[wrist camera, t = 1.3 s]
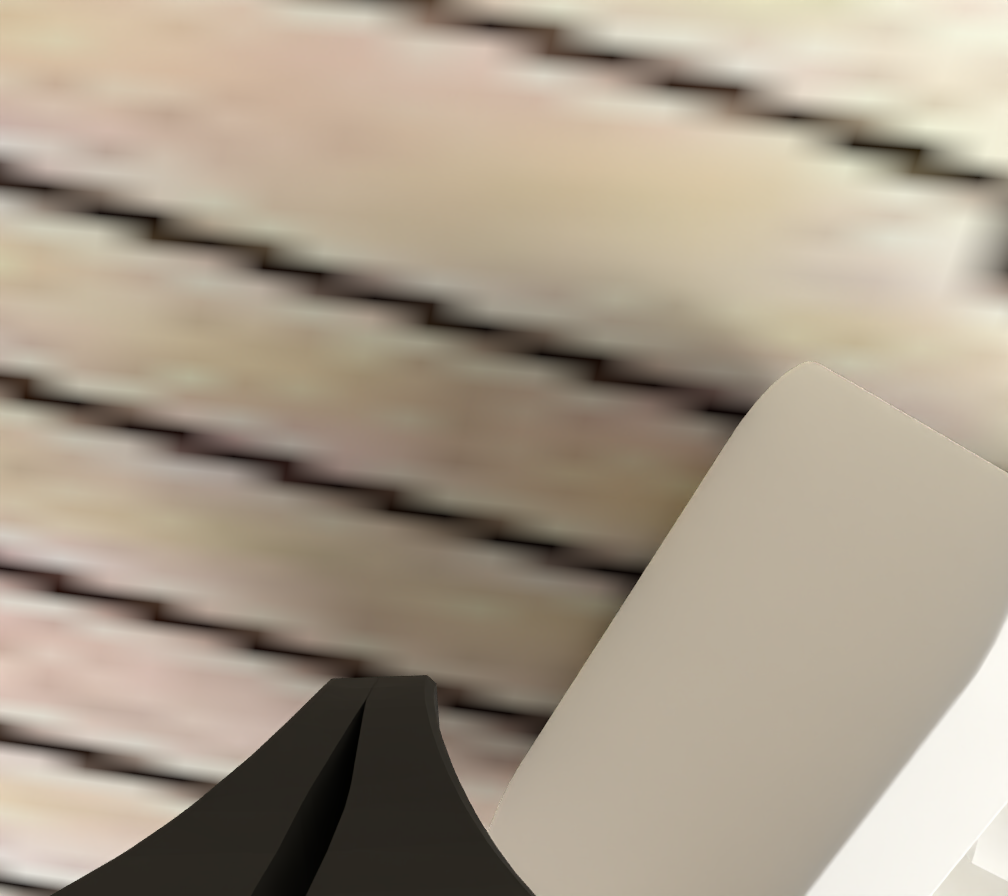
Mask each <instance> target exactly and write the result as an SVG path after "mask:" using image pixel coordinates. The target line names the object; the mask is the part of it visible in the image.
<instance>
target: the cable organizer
mask: <svg viewBox="0 0 1008 896" xmlns="http://www.w3.org/2000/svg"><path fill="white" fill-rule="evenodd" d="M488 834H489V836H490V837H491V839H492V840H493V842H494V843H495V845H496V846H497V848H498V849H499V851H500V852H501V853H502V855H503V856H504V857H505V859H506V860H507V862H508V863H509V864H510V866H511V867H512V868H513V870H514V871H515V872H516V874H517V875H518V876H519V877H520V878H521V879H522V880H523V881H524V883H525V884H526V885H527V886H528V887H529V888H530V889H531V891H532V892H533V893H534V894H535V895H536V896H1008V473H1007V472H1005V471H1004V470H1002V469H1000V468H998V467H997V466H995V465H993V464H992V463H990V462H988V461H986V460H985V459H983V458H981V457H980V456H978V455H976V454H974V453H973V452H971V451H969V450H968V449H966V448H964V447H963V446H961V445H959V444H957V443H956V442H954V441H952V440H951V439H949V438H947V437H945V436H944V435H942V434H940V433H939V432H937V431H935V430H933V429H932V428H930V427H928V426H927V425H925V424H923V423H921V422H920V421H918V420H916V419H915V418H913V417H911V416H909V415H908V414H906V413H904V412H903V411H901V410H899V409H897V408H896V407H894V406H892V405H891V404H889V403H887V402H885V401H884V400H882V399H880V398H879V397H877V396H875V395H873V394H872V393H870V392H868V391H867V390H865V389H863V388H861V387H860V386H858V385H856V384H854V383H853V382H851V381H849V380H847V379H846V378H844V377H842V376H840V375H839V374H837V373H835V372H834V371H832V370H830V369H828V368H827V367H825V366H823V365H821V364H820V363H817V362H813V361H811V362H805V363H802V364H800V365H798V366H796V367H794V368H792V369H791V370H789V371H788V372H786V373H785V374H784V375H783V376H781V377H780V378H779V379H778V380H777V381H776V382H775V383H773V384H772V385H771V386H770V387H769V388H768V389H767V391H766V392H765V393H764V394H763V395H762V396H761V397H760V398H759V399H758V400H757V401H756V403H755V404H754V405H753V406H752V408H751V409H750V410H749V411H748V413H747V414H746V415H745V417H744V418H743V419H742V421H741V422H740V423H739V425H738V426H737V428H736V429H735V431H734V432H733V434H732V435H731V437H730V438H729V440H728V441H727V443H726V444H725V446H724V448H723V449H722V451H721V452H720V454H719V455H718V457H717V458H716V460H715V462H714V463H713V465H712V466H711V468H710V469H709V471H708V472H707V474H706V476H705V477H704V479H703V480H702V482H701V483H700V485H699V486H698V488H697V490H696V491H695V493H694V494H693V496H692V497H691V499H690V500H689V502H688V504H687V505H686V507H685V508H684V510H683V511H682V513H681V514H680V516H679V518H678V519H677V521H676V522H675V524H674V525H673V527H672V528H671V530H670V532H669V533H668V535H667V536H666V538H665V539H664V541H663V543H662V544H661V546H660V547H659V549H658V550H657V552H656V553H655V555H654V557H653V558H652V560H651V561H650V563H649V564H648V566H647V567H646V569H645V571H644V572H643V574H642V575H641V577H640V578H639V580H638V581H637V583H636V585H635V586H634V588H633V589H632V591H631V592H630V594H629V595H628V597H627V599H626V600H625V602H624V603H623V605H622V606H621V608H620V609H619V611H618V613H617V614H616V616H615V617H614V619H613V620H612V622H611V623H610V625H609V627H608V628H607V630H606V631H605V633H604V634H603V636H602V638H601V639H600V641H599V642H598V644H597V645H596V647H595V648H594V650H593V652H592V653H591V655H590V656H589V658H588V659H587V661H586V662H585V664H584V666H583V667H582V669H581V670H580V672H579V673H578V675H577V676H576V678H575V680H574V681H573V683H572V684H571V686H570V687H569V689H568V690H567V692H566V694H565V695H564V697H563V698H562V700H561V701H560V703H559V704H558V706H557V708H556V709H555V711H554V712H553V714H552V715H551V717H550V718H549V720H548V722H547V723H546V725H545V726H544V728H543V729H542V731H541V733H540V734H539V736H538V737H537V739H536V740H535V742H534V743H533V745H532V747H531V748H530V750H529V751H528V753H527V754H526V756H525V757H524V759H523V761H522V762H521V764H520V765H519V767H518V769H517V770H516V772H515V774H514V776H513V777H512V779H511V781H510V783H509V785H508V787H507V789H506V791H505V793H504V795H503V797H502V799H501V801H500V803H499V806H498V808H497V810H496V813H495V815H494V818H493V820H492V823H491V826H490V829H489V831H488Z"/></svg>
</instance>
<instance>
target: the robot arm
mask: <svg viewBox="0 0 1008 896" xmlns="http://www.w3.org/2000/svg"><path fill="white" fill-rule="evenodd" d="M51 896H536V895H535V894H534V893H533V892H532V891H531V889H530V888H529V887H528V886H527V885H526V884H525V883H524V881H523V880H522V879H521V878H520V877H519V876H518V875H517V874H516V872H515V871H514V870H513V868H512V867H511V866H510V864H509V863H508V862H507V860H506V859H505V857H504V856H503V855H502V853H501V852H500V851H499V849H498V848H497V846H496V845H495V843H494V842H493V840H492V839H491V837H490V836H489V834H488V833H487V831H486V829H485V828H484V826H483V825H482V823H481V821H480V820H479V818H478V816H477V815H476V813H475V811H474V809H473V807H472V805H471V804H470V802H469V800H468V798H467V796H466V794H465V792H464V790H463V788H462V786H461V784H460V782H459V779H458V777H457V775H456V773H455V770H454V768H453V766H452V763H451V760H450V758H449V755H448V752H447V750H446V747H445V744H444V742H443V739H442V736H441V732H440V729H439V716H438V702H437V687H436V683H435V682H434V681H433V680H432V679H431V678H430V677H429V676H427V675H421V676H393V677H365V678H337V679H331V680H330V681H329V682H328V683H327V684H326V685H325V686H323V687H322V688H321V689H320V690H319V691H318V692H317V693H316V694H315V695H314V696H313V697H312V698H311V699H310V700H309V701H308V702H307V703H306V704H305V705H304V706H303V707H302V708H301V709H300V710H299V711H298V712H297V713H296V714H295V715H294V716H293V717H292V718H291V719H290V720H289V721H288V722H287V723H286V724H285V725H284V726H283V727H281V728H280V729H279V730H278V731H277V732H276V733H275V734H274V735H273V736H272V737H271V738H270V739H269V740H268V741H267V742H266V743H264V744H263V745H262V746H261V747H260V748H259V749H258V750H257V751H256V752H255V753H254V754H253V755H252V756H250V757H249V758H248V759H247V760H246V761H245V762H243V763H242V764H241V765H240V766H239V767H237V768H236V769H235V770H234V771H233V772H232V773H230V774H229V775H228V776H227V777H226V778H224V779H223V780H222V781H221V782H220V783H218V784H217V785H216V786H215V787H214V788H212V789H211V790H210V791H209V792H208V793H206V794H205V795H204V796H203V797H202V798H201V799H199V800H198V801H197V802H195V803H194V804H193V805H192V806H190V807H189V808H188V809H186V810H185V811H184V812H182V813H181V814H180V815H178V816H177V817H176V818H174V819H173V820H171V821H170V822H169V823H167V824H166V825H164V826H163V827H162V828H160V829H159V830H157V831H156V832H154V833H153V834H151V835H150V836H148V837H147V838H145V839H144V840H142V841H141V842H139V843H138V844H137V845H135V846H134V847H132V848H131V849H129V850H127V851H126V852H124V853H123V854H121V855H120V856H118V857H116V858H115V859H113V860H111V861H109V862H108V863H106V864H104V865H102V866H101V867H99V868H97V869H96V870H94V871H92V872H90V873H89V874H87V875H85V876H83V877H82V878H80V879H78V880H77V881H75V882H73V883H71V884H70V885H68V886H66V887H64V888H63V889H61V890H59V891H58V892H56V893H54V894H52V895H51Z"/></svg>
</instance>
